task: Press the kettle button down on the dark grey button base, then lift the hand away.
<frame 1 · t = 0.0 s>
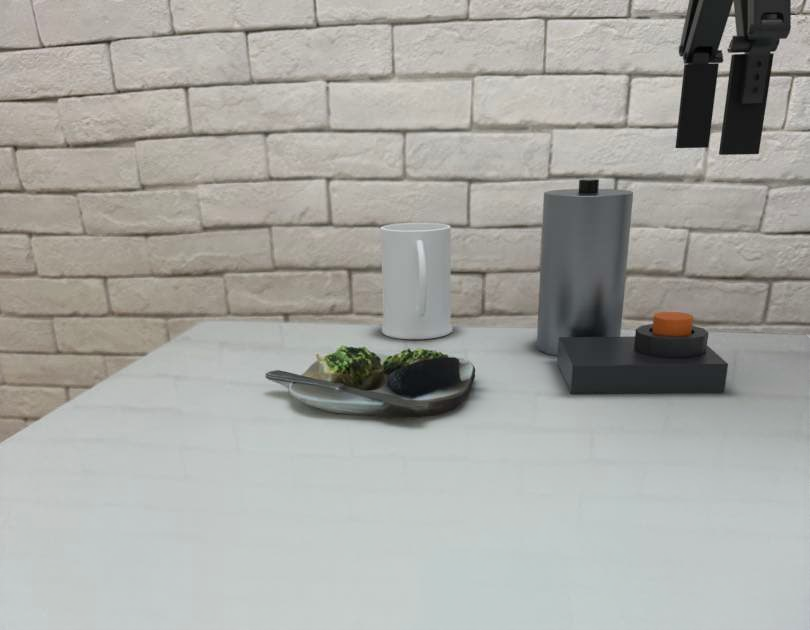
hand: (713, 151, 70), 20 cm above the table, tool pointing down, fingers open, 13 cm apart
salad plate: (388, 395, 81), on the table
dark grey button base: (635, 377, 84), on the table
grey canister: (577, 347, 95), on the table
kettle button: (672, 325, 82), point 5 cm above the table, slide at 0.2 cm
mug: (417, 336, 102), on the table
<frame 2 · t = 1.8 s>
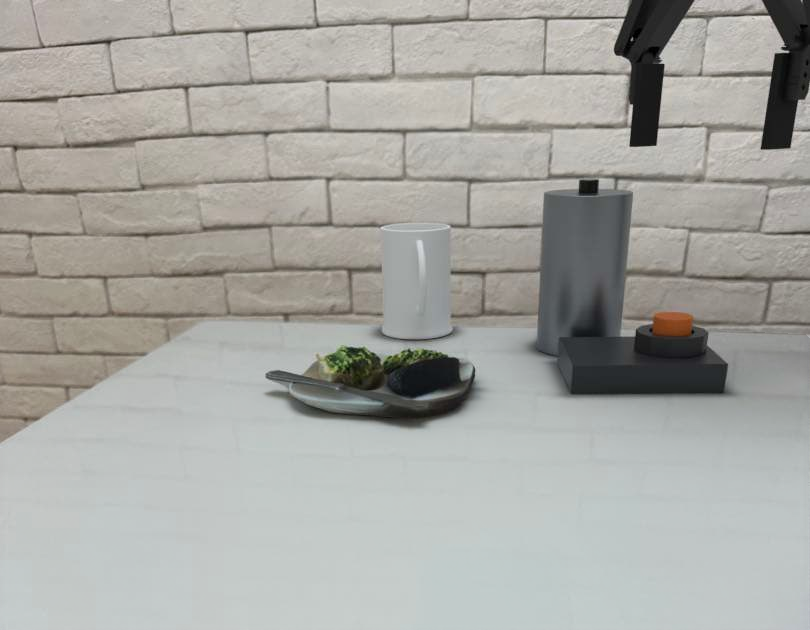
hand: (704, 148, 72), 20 cm above the table, tool pointing down, fingers open, 13 cm apart
nothing on the table moved.
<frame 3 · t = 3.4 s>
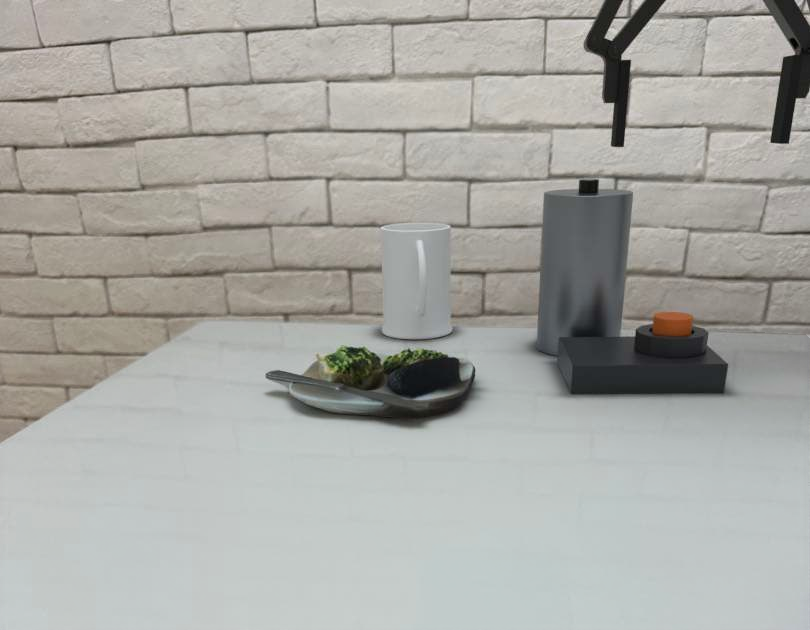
hand: (697, 145, 74), 21 cm above the table, tool pointing down, fingers open, 13 cm apart
nothing on the table moved.
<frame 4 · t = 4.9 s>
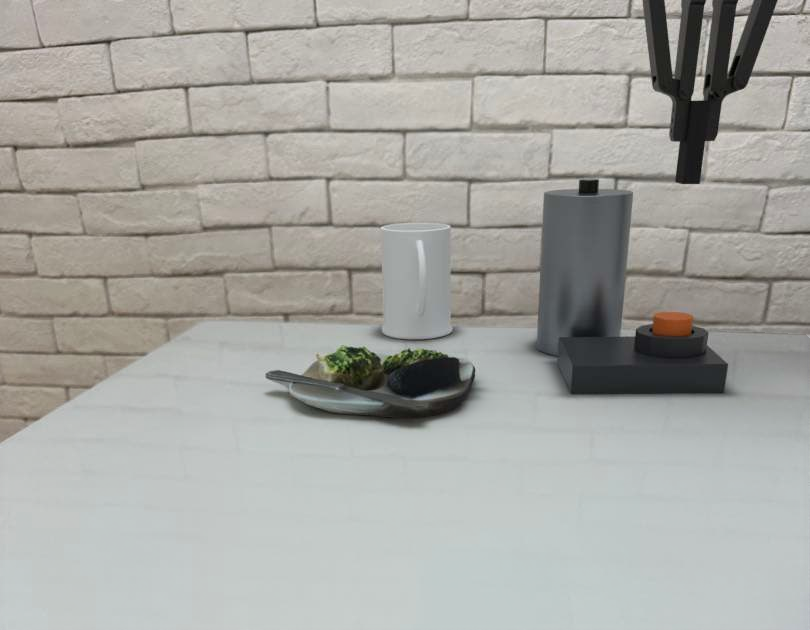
hand: (687, 182, 76), 18 cm above the table, tool pointing down, fingers closed
nothing on the table moved.
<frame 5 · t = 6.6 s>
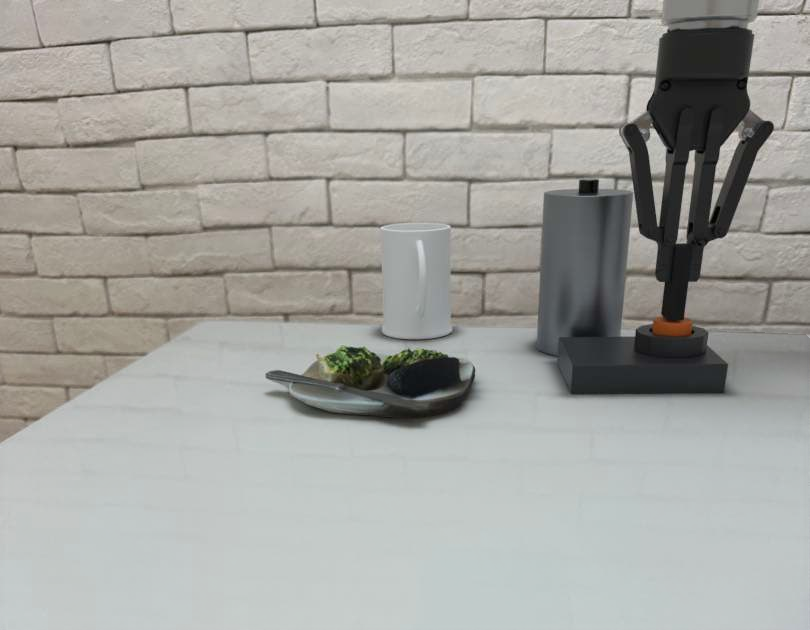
hand: (672, 317, 81), 6 cm above the table, tool pointing down, fingers closed
kettle button: (672, 329, 82), point 5 cm above the table, slide at -0.2 cm, touching gripper
everything else where it was.
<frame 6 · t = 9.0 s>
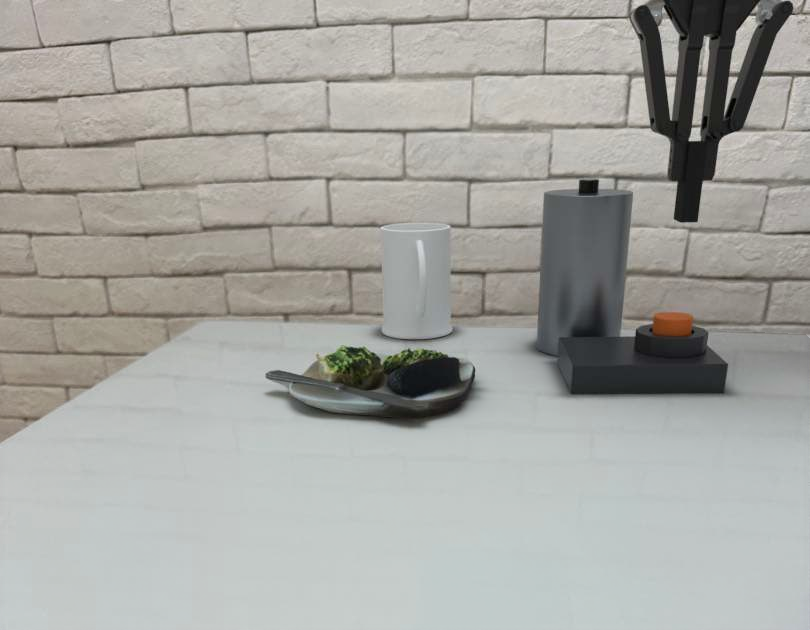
hand: (685, 220, 77), 14 cm above the table, tool pointing down, fingers closed
kettle button: (672, 325, 82), point 5 cm above the table, slide at 0.1 cm
everything else where it was.
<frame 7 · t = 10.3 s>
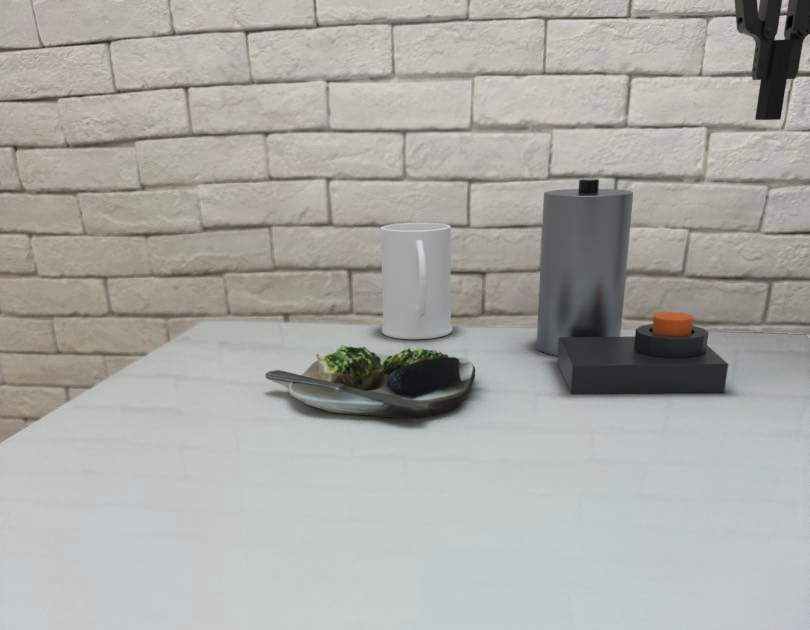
hand: (767, 119, 81), 22 cm above the table, tool pointing down, fingers closed
nothing on the table moved.
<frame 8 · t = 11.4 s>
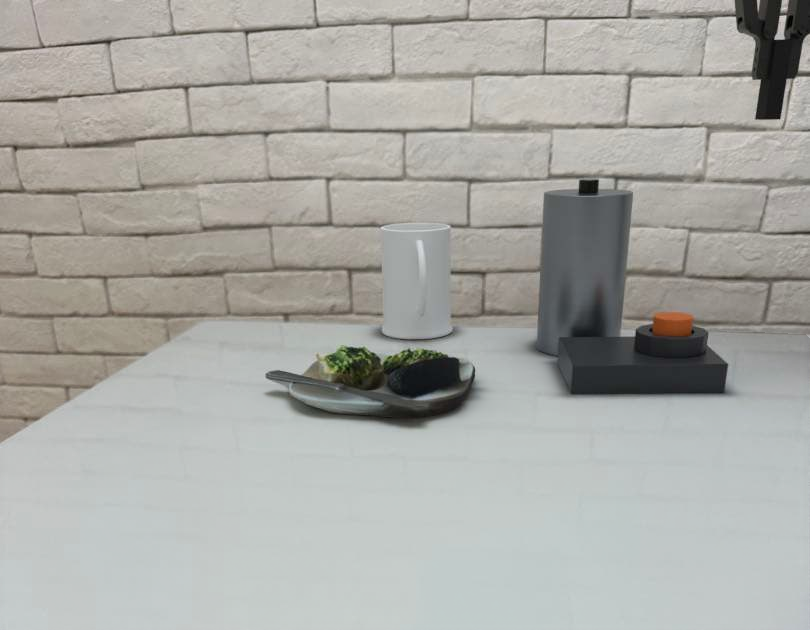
hand: (767, 119, 81), 22 cm above the table, tool pointing down, fingers closed
nothing on the table moved.
at the end: kettle button pushed in 1.0 cm at the most during the clip, back to where it started at the end; kettle button slide at 0.1 cm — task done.
